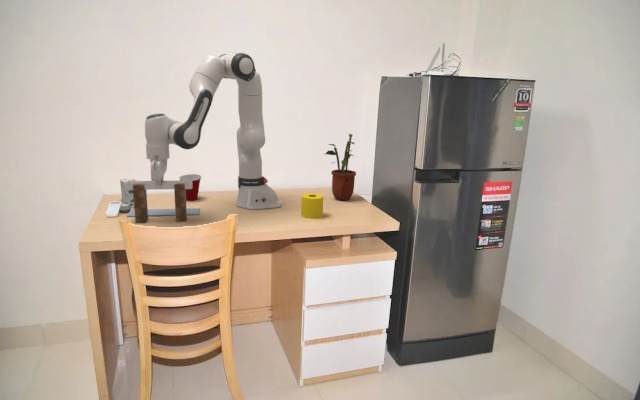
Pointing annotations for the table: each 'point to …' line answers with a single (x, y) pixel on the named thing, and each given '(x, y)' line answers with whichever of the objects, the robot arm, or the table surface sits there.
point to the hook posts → (142, 209)
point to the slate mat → (165, 212)
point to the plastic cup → (192, 193)
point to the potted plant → (343, 175)
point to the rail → (164, 184)
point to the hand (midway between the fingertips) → (159, 186)
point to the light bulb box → (127, 192)
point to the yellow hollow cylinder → (312, 205)
